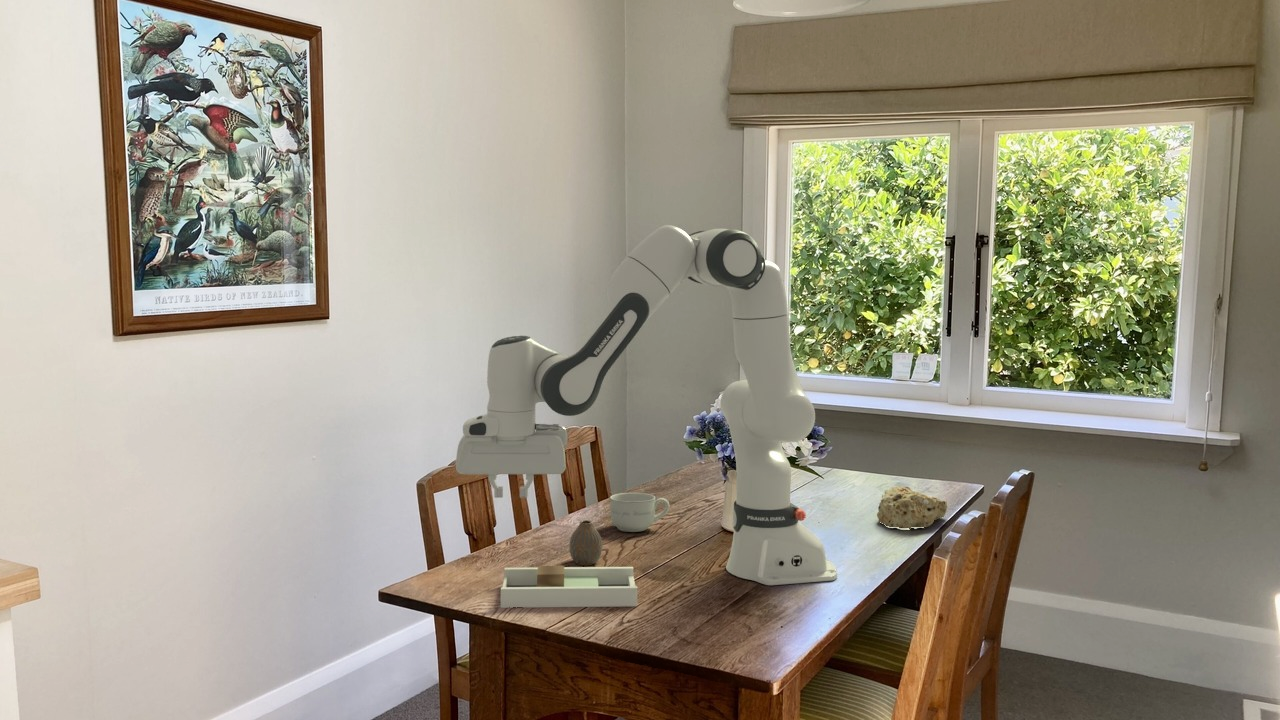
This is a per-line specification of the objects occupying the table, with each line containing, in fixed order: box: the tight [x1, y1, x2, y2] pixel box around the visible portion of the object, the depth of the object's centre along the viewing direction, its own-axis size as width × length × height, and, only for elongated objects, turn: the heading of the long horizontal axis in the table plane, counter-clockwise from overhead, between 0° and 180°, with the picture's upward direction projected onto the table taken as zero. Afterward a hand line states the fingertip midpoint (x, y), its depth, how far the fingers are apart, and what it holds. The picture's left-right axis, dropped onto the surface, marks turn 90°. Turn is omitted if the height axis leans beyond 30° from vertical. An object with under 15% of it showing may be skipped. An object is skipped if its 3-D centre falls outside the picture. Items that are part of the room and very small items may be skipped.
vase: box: [568, 520, 603, 566], centre depth 204 cm, size 7×7×9 cm
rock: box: [876, 485, 948, 530], centre depth 239 cm, size 21×14×10 cm
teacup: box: [609, 492, 671, 533], centre depth 228 cm, size 14×11×8 cm
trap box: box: [500, 566, 639, 609], centre depth 184 cm, size 25×12×4 cm, turn 94°
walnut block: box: [537, 565, 565, 587], centre depth 184 cm, size 5×5×3 cm
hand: (511, 497), depth 182 cm, fingers open, 3 cm apart
